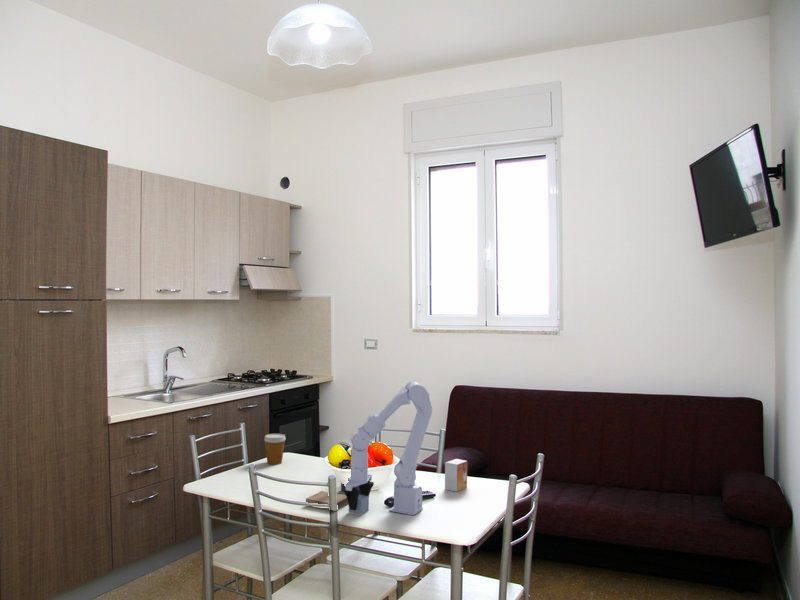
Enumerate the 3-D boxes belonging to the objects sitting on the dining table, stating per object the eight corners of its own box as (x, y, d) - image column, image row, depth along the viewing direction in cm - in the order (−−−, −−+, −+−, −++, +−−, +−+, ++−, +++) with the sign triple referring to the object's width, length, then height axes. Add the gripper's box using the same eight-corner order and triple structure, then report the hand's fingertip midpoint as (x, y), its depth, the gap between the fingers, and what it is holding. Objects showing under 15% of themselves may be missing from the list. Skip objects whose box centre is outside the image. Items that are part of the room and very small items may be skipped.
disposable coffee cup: (285, 465, 268) (285, 437, 268) (262, 465, 266) (263, 438, 267) (286, 459, 277) (286, 433, 277) (264, 460, 276) (264, 433, 276)
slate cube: (368, 510, 212) (368, 496, 212) (361, 515, 207) (361, 500, 207) (356, 508, 214) (356, 494, 214) (348, 512, 209) (348, 498, 209)
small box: (456, 492, 234) (457, 464, 234) (444, 489, 237) (444, 462, 237) (467, 487, 240) (467, 460, 240) (455, 484, 244) (455, 458, 244)
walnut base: (349, 503, 219) (350, 496, 219) (335, 511, 210) (335, 504, 210) (321, 497, 224) (321, 491, 224) (305, 505, 215) (305, 498, 215)
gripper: (359, 460, 219) (358, 498, 219) (338, 470, 206) (337, 510, 206) (377, 463, 216) (376, 501, 216) (356, 472, 203) (355, 514, 203)
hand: (358, 506), depth 211 cm, fingers open, 7 cm apart
